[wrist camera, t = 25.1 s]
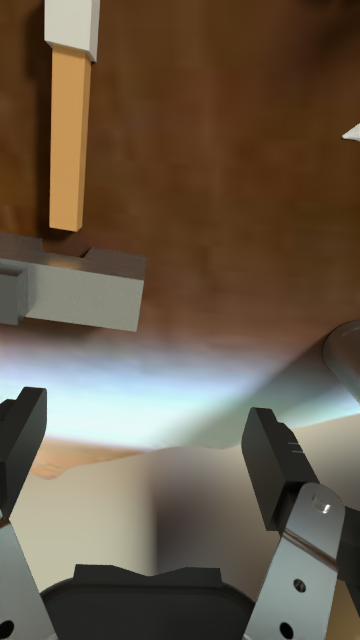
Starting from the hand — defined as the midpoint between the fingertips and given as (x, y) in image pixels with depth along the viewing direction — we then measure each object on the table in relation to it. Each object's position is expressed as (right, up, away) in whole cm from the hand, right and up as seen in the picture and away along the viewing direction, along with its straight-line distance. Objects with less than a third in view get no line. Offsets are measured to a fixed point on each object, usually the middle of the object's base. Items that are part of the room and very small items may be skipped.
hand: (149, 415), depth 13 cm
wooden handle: (-10, +25, +24) cm, 36 cm away
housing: (-14, +11, +30) cm, 35 cm away
